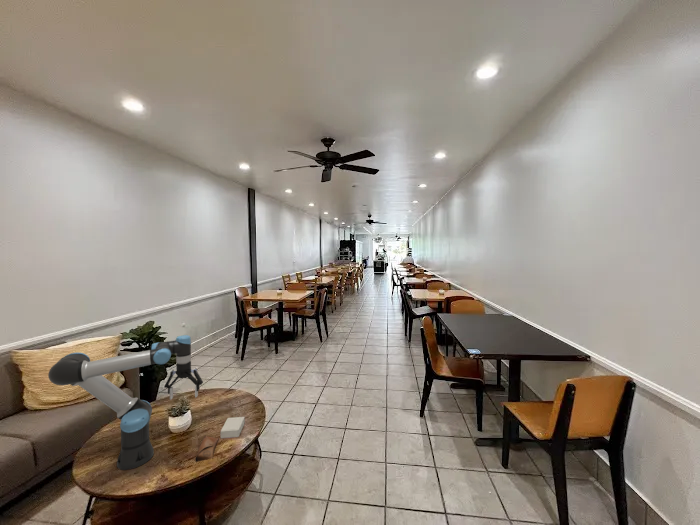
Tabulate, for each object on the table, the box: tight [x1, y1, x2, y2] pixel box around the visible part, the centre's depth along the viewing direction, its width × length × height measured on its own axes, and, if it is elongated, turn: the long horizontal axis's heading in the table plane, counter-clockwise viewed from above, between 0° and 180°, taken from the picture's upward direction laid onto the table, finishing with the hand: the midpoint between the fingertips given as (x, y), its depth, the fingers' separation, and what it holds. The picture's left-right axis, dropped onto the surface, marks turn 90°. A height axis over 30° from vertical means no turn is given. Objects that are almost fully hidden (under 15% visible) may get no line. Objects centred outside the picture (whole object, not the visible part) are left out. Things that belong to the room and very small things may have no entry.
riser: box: [220, 416, 246, 439], centre depth 171 cm, size 14×10×4 cm
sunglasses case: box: [195, 435, 220, 463], centre depth 154 cm, size 18×7×7 cm
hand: (184, 397), depth 169 cm, fingers open, 13 cm apart
